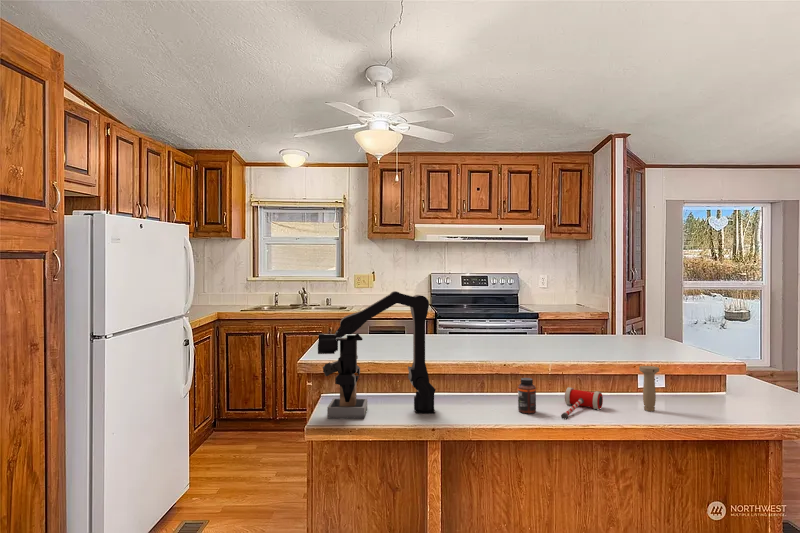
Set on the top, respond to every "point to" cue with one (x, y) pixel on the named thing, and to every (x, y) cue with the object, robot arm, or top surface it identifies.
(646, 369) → the handle
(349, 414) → the grey square tray
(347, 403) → the walnut block
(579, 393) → the toy hammer
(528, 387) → the supplement bottle
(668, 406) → the top surface
